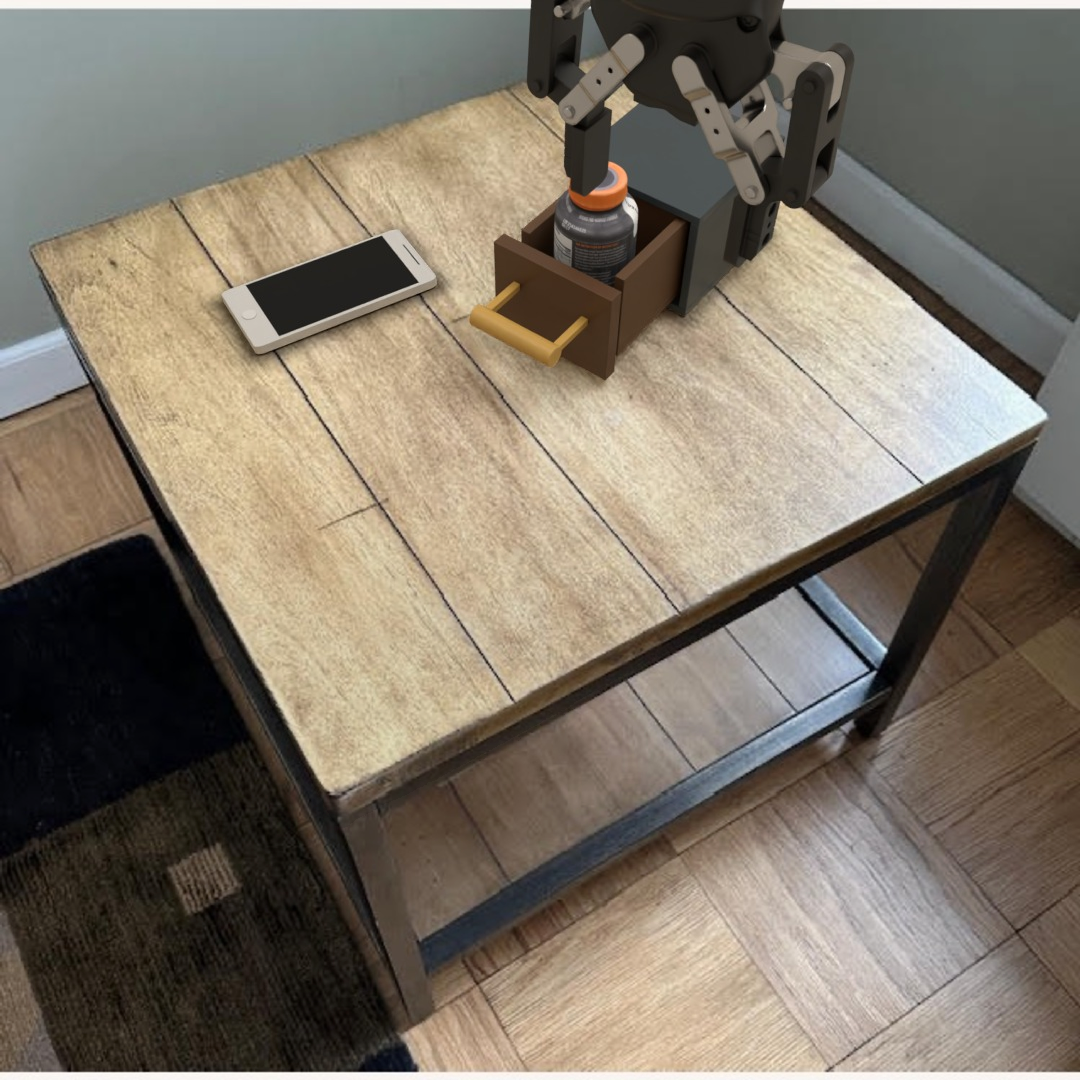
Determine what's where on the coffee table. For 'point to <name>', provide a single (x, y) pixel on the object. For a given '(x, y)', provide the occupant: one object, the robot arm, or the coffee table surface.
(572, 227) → the pill bottle
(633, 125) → the cabinet
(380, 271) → the smartphone
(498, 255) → the drawer
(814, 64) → the robot arm
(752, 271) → the coffee table surface
